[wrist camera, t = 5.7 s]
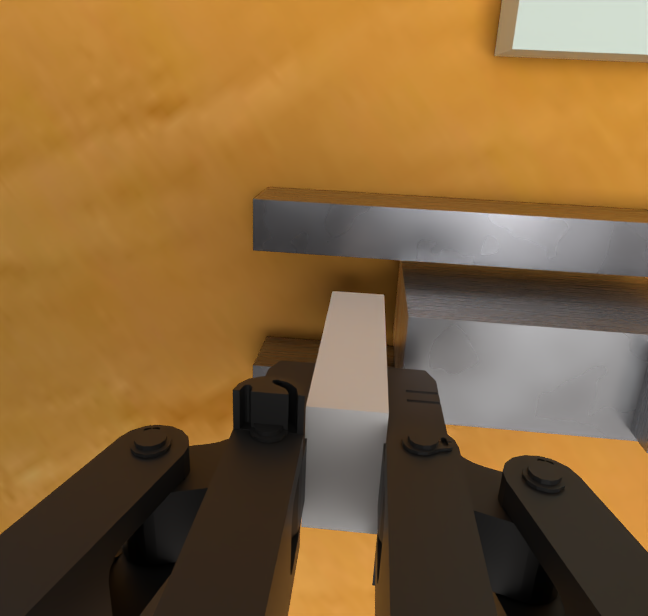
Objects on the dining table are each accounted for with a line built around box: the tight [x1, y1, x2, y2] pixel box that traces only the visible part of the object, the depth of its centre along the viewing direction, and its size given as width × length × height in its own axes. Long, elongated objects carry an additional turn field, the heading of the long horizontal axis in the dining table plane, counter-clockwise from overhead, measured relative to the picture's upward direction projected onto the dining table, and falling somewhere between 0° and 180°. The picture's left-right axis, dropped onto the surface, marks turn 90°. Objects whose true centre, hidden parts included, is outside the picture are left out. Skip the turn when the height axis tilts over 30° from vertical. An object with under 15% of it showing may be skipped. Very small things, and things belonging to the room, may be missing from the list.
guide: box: [253, 187, 648, 378], centre depth 19 cm, size 16×7×2 cm, turn 87°
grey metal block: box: [393, 260, 648, 453], centre depth 17 cm, size 8×3×7 cm, turn 88°
